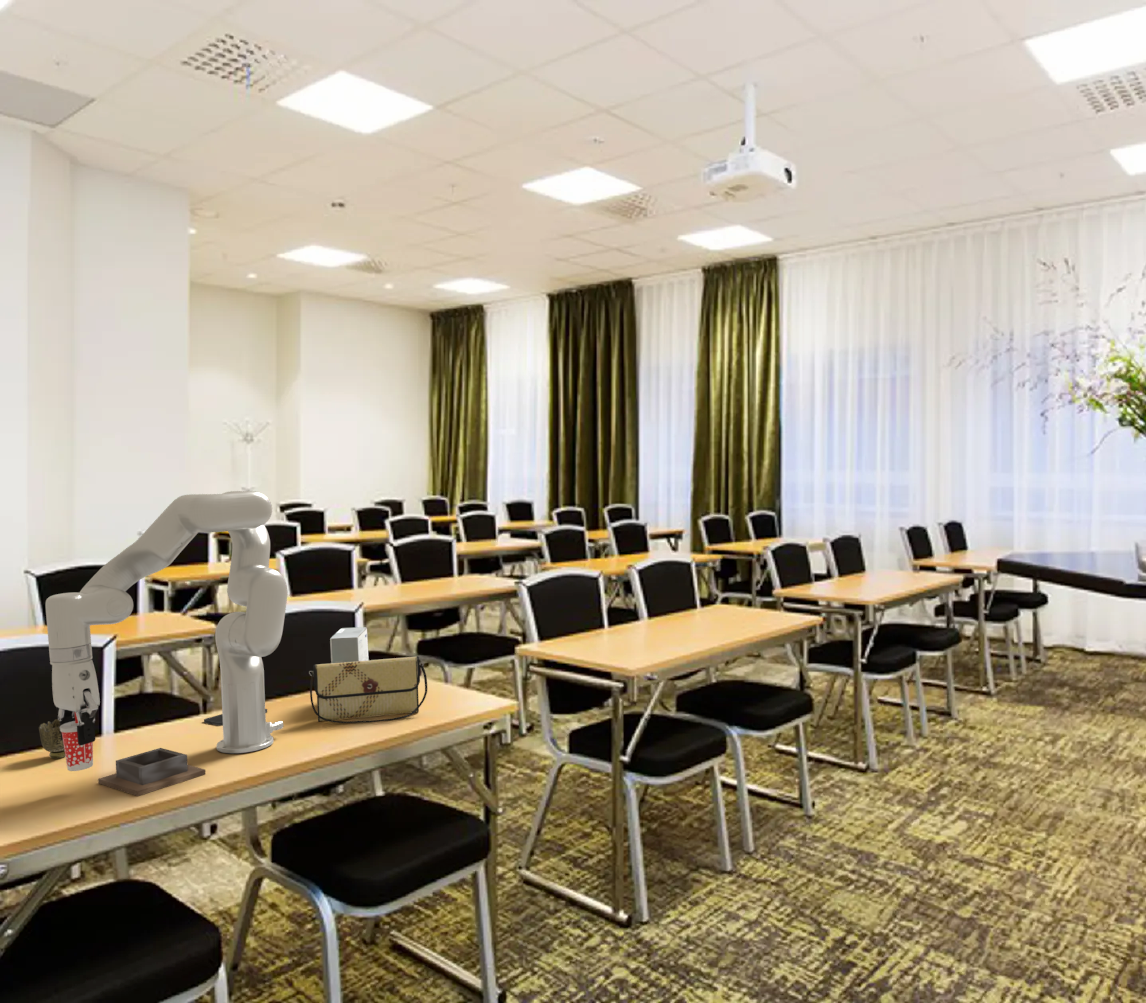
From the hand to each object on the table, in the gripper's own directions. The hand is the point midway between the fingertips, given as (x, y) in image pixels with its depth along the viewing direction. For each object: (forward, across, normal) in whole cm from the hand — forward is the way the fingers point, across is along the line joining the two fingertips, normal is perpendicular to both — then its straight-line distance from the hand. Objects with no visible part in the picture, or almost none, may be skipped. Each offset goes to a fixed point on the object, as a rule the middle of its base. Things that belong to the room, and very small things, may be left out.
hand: (78, 740), depth 183 cm
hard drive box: (+13, +4, -76) cm, 77 cm away
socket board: (+11, -6, -11) cm, 17 cm away
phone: (+13, +21, -51) cm, 56 cm away
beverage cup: (+6, 0, 0) cm, 6 cm away
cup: (+11, +28, -9) cm, 31 cm away
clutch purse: (+13, -13, -67) cm, 69 cm away
